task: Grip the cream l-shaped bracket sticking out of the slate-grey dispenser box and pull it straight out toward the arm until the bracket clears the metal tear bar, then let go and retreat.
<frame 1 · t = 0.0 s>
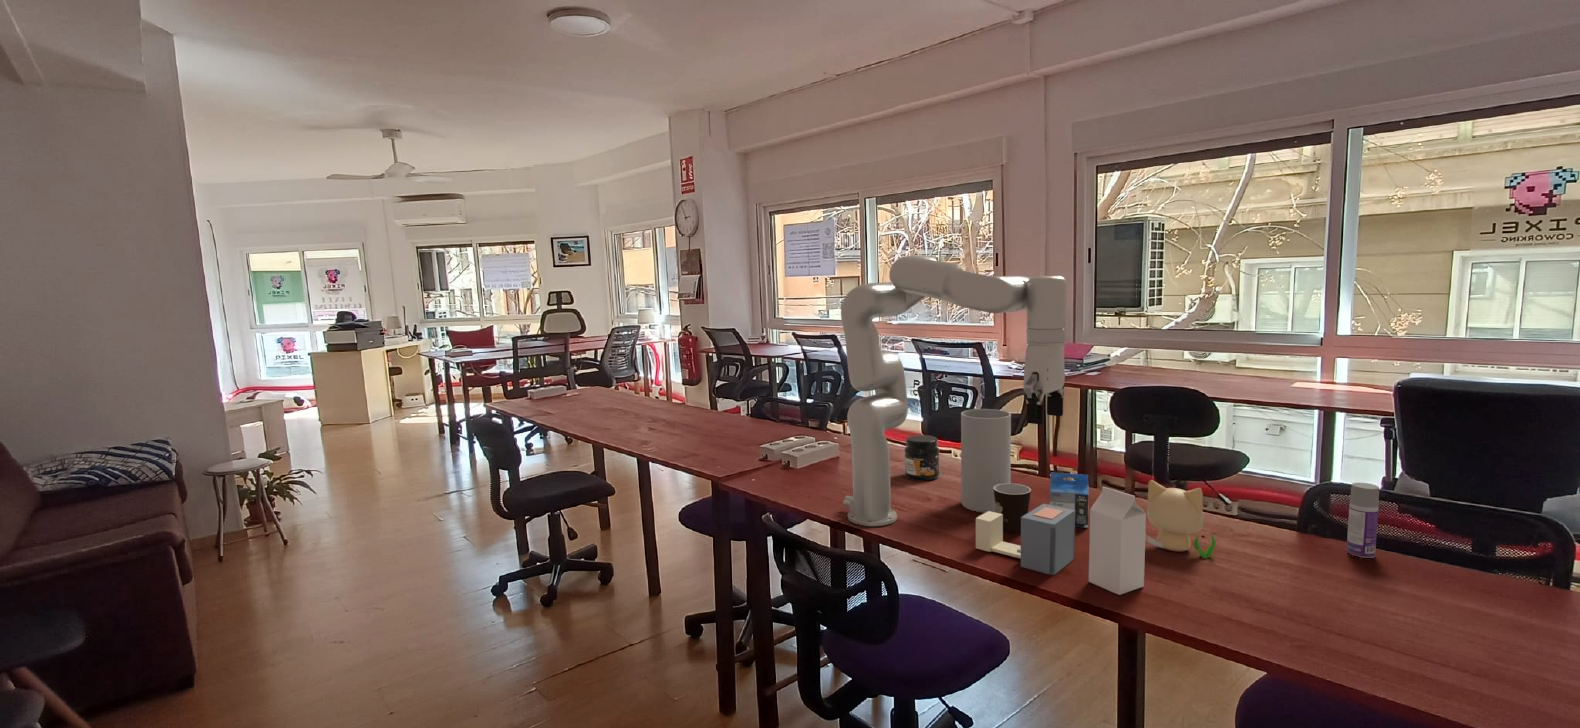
hand: (1045, 419, 144), 31 cm above the table, tool pointing down, fingers open, 9 cm apart
label tape box: (1068, 525, 170), on the table
cream l-shaped bracket: (1018, 538, 152), point 4 cm above the table, slide at 0.0 cm
dispenser: (1047, 562, 148), on the table
coffee mug: (1011, 527, 170), on the table
supplement container: (922, 477, 214), on the table
kitten: (1176, 550, 153), on the table
milk carton: (1115, 585, 137), on the table
cylinder vase: (985, 506, 185), on the table
container: (1360, 555, 147), on the table
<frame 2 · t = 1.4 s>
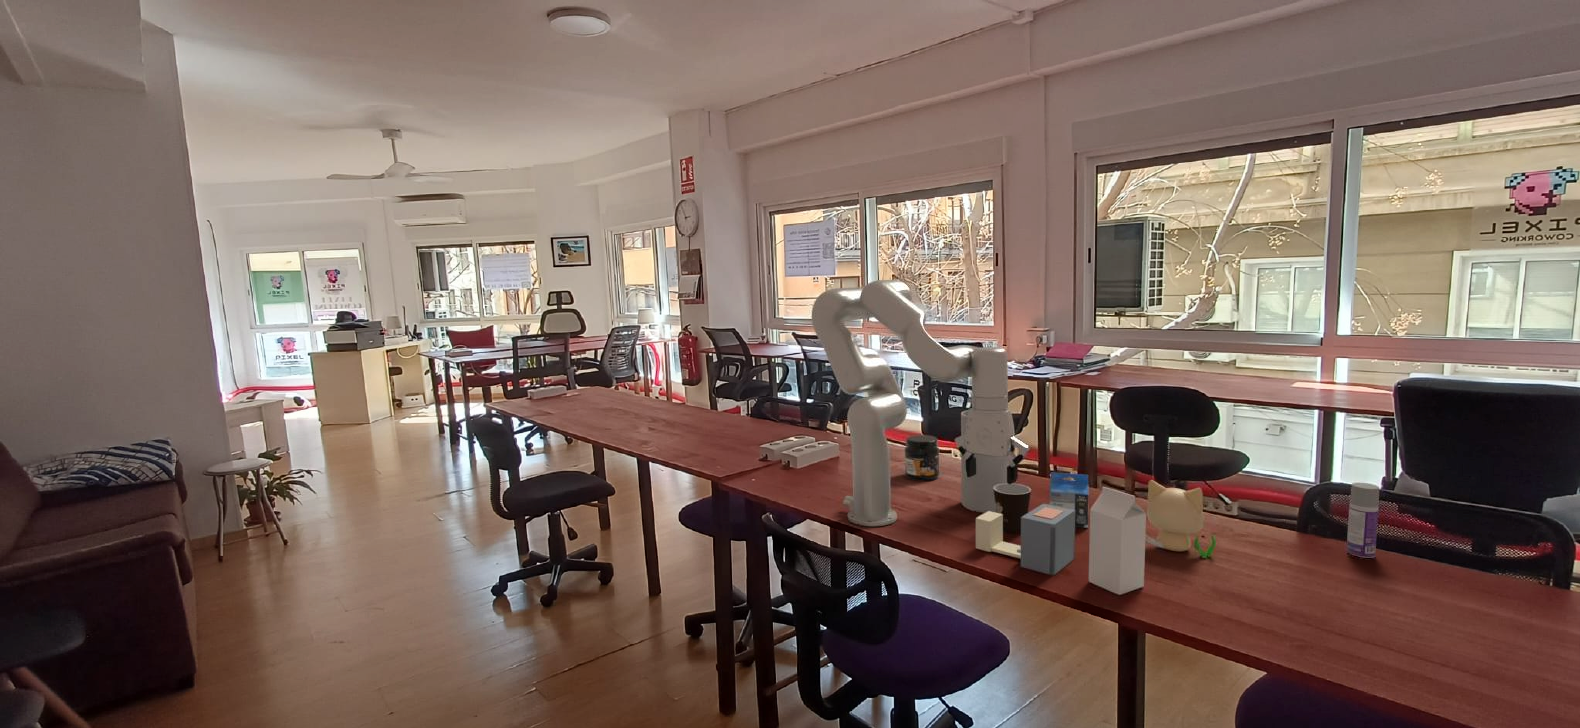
hand: (991, 479, 155), 16 cm above the table, tool pointing down, fingers open, 9 cm apart
nothing on the table moved.
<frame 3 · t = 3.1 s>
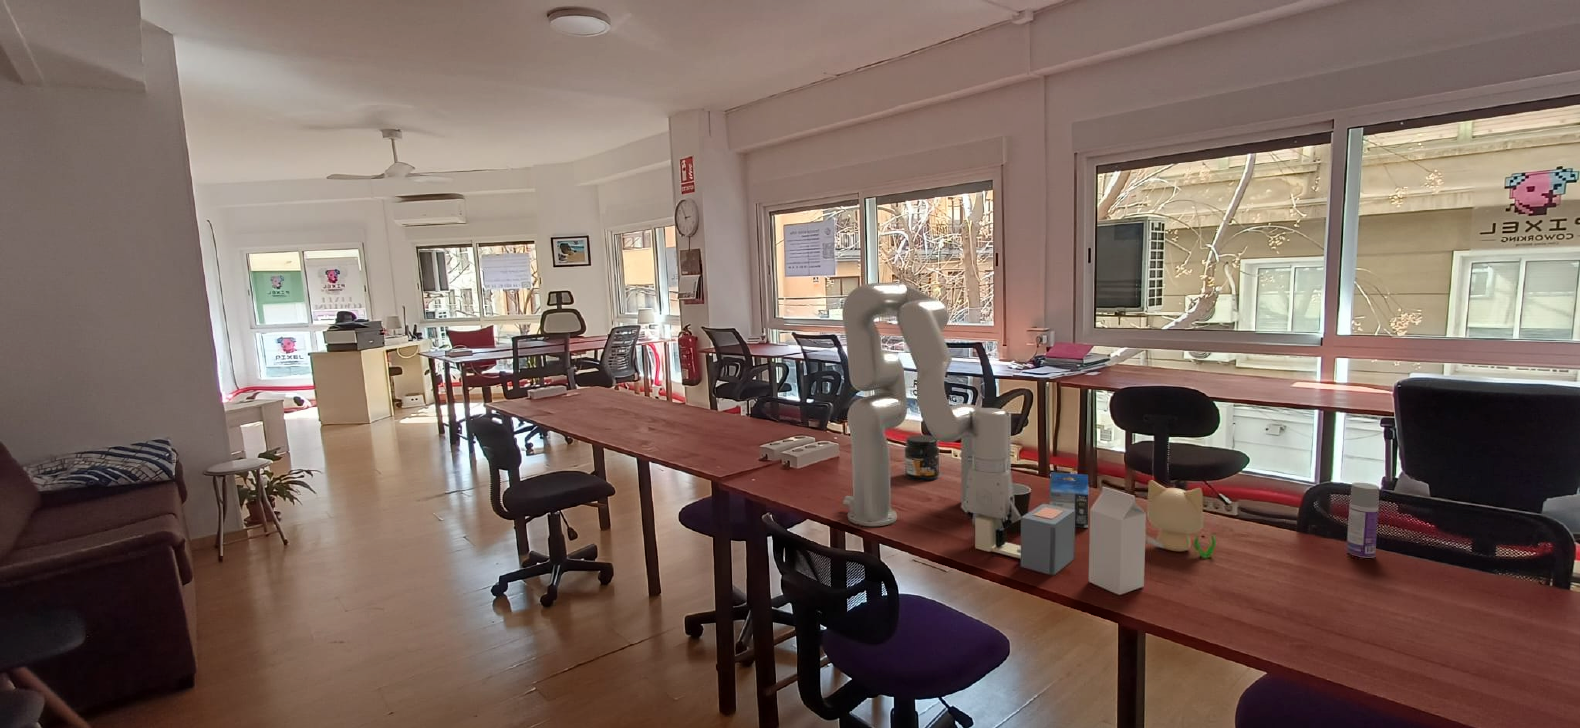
hand: (990, 542, 157), 1 cm above the table, tool pointing down, fingers closed on cream l-shaped bracket, 4 cm apart
cream l-shaped bracket: (1017, 538, 152), point 4 cm above the table, slide at 0.1 cm, touching gripper
everything else where it was.
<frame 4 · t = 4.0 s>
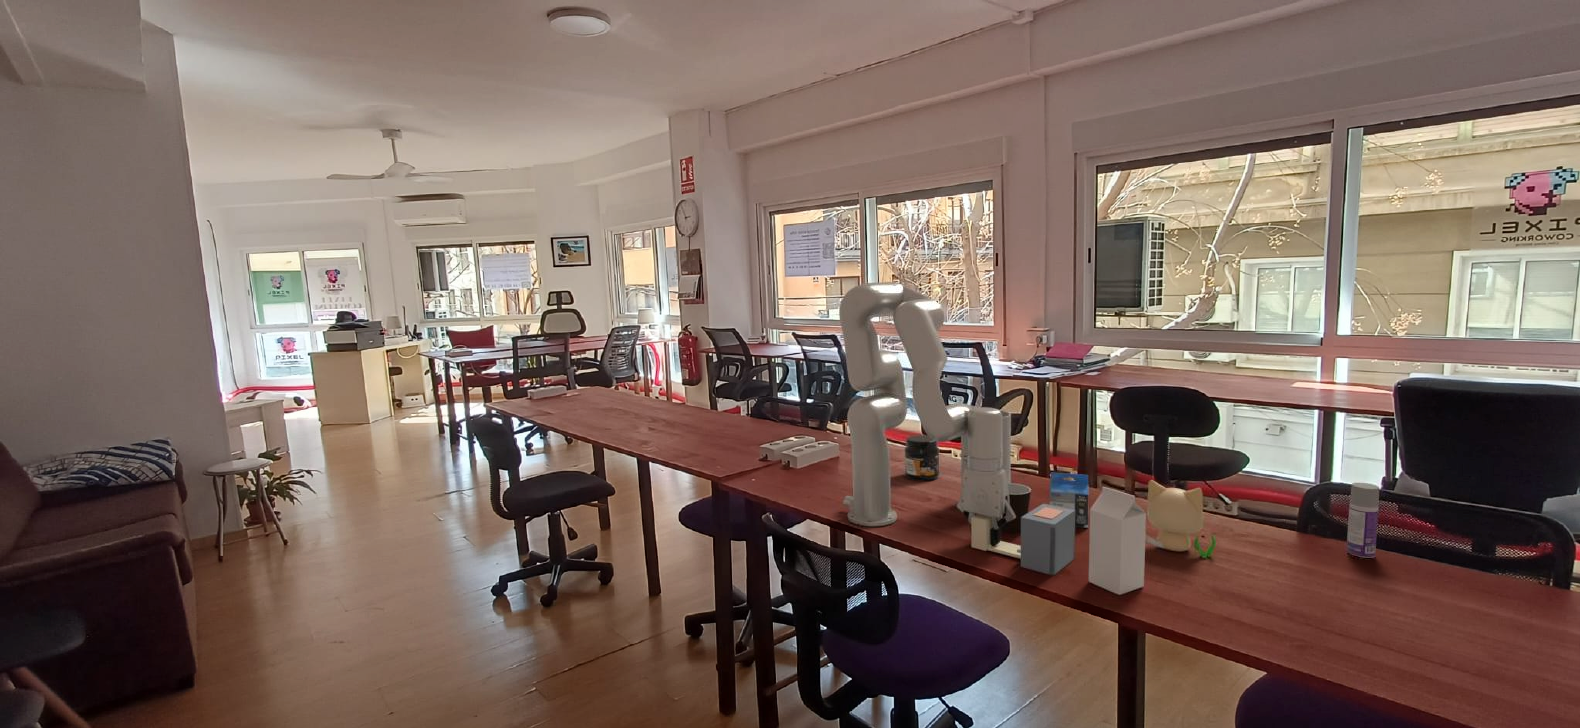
hand: (985, 541, 158), 1 cm above the table, tool pointing down, fingers closed on cream l-shaped bracket, 4 cm apart
cream l-shaped bracket: (1013, 537, 153), point 4 cm above the table, slide at 1.1 cm, touching gripper
everything else where it was.
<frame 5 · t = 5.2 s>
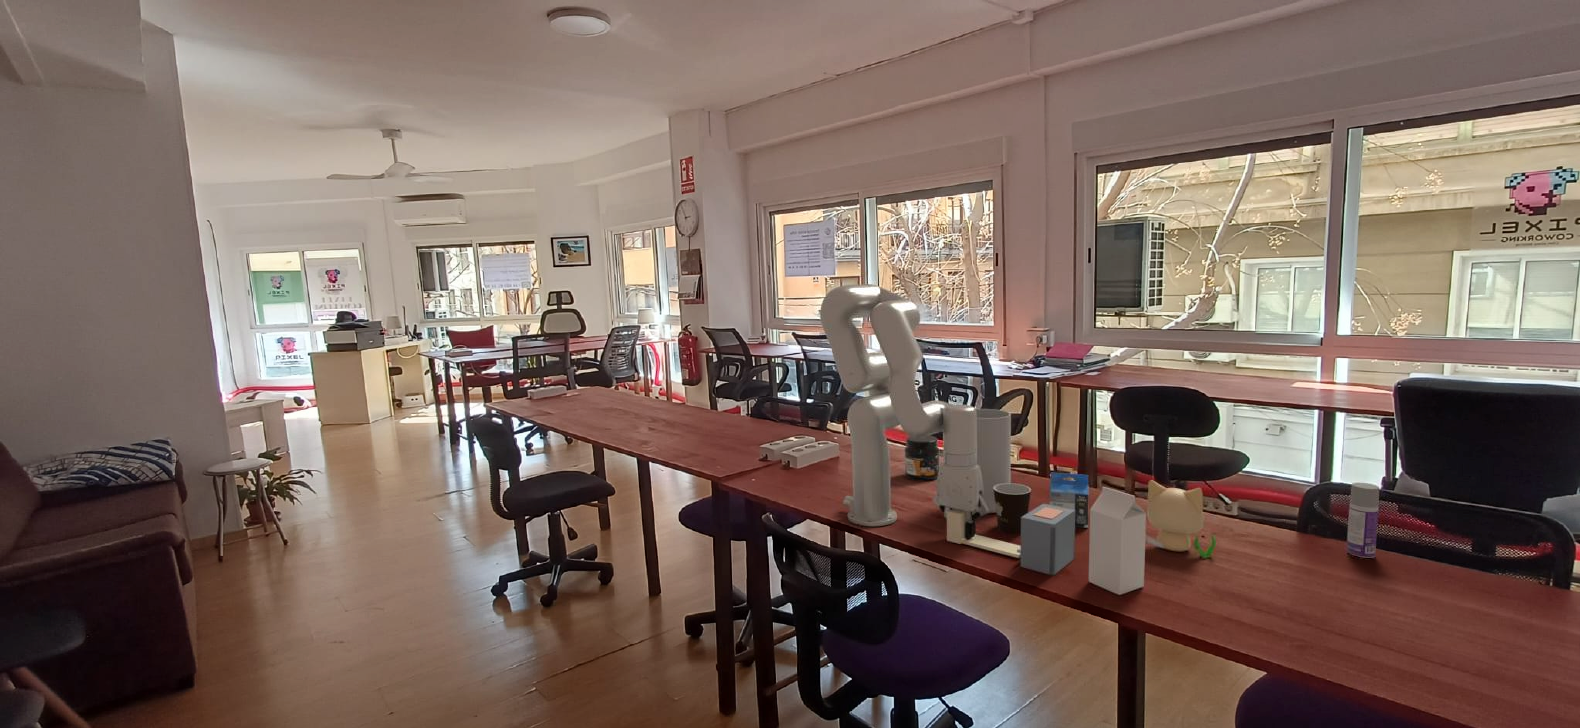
hand: (961, 534, 162), 1 cm above the table, tool pointing down, fingers closed on cream l-shaped bracket, 4 cm apart
cream l-shaped bracket: (987, 530, 157), point 4 cm above the table, slide at 7.3 cm, touching gripper
everything else where it was.
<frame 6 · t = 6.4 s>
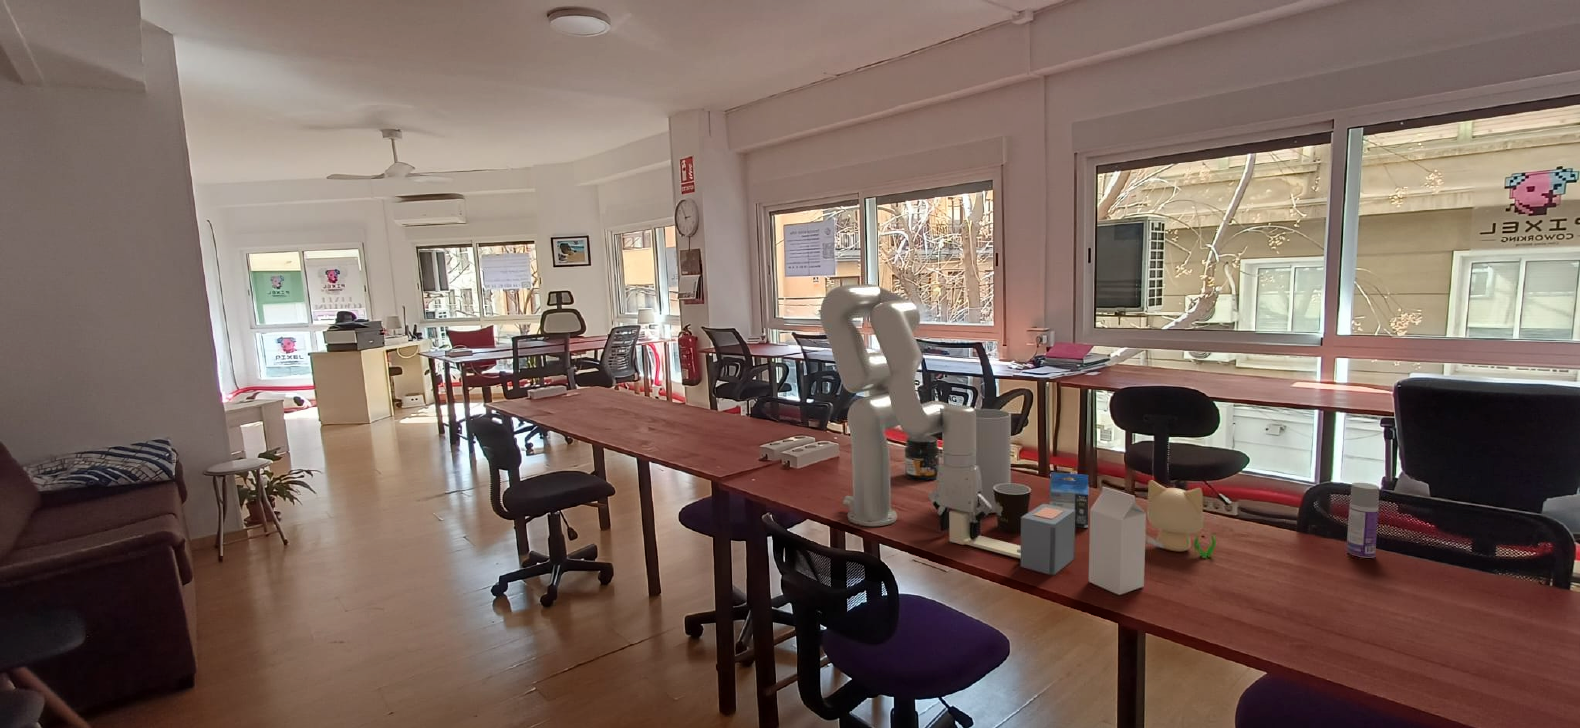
hand: (959, 533, 162), 2 cm above the table, tool pointing down, fingers open, 7 cm apart
cream l-shaped bracket: (990, 531, 157), point 4 cm above the table, slide at 6.7 cm
everything else where it was.
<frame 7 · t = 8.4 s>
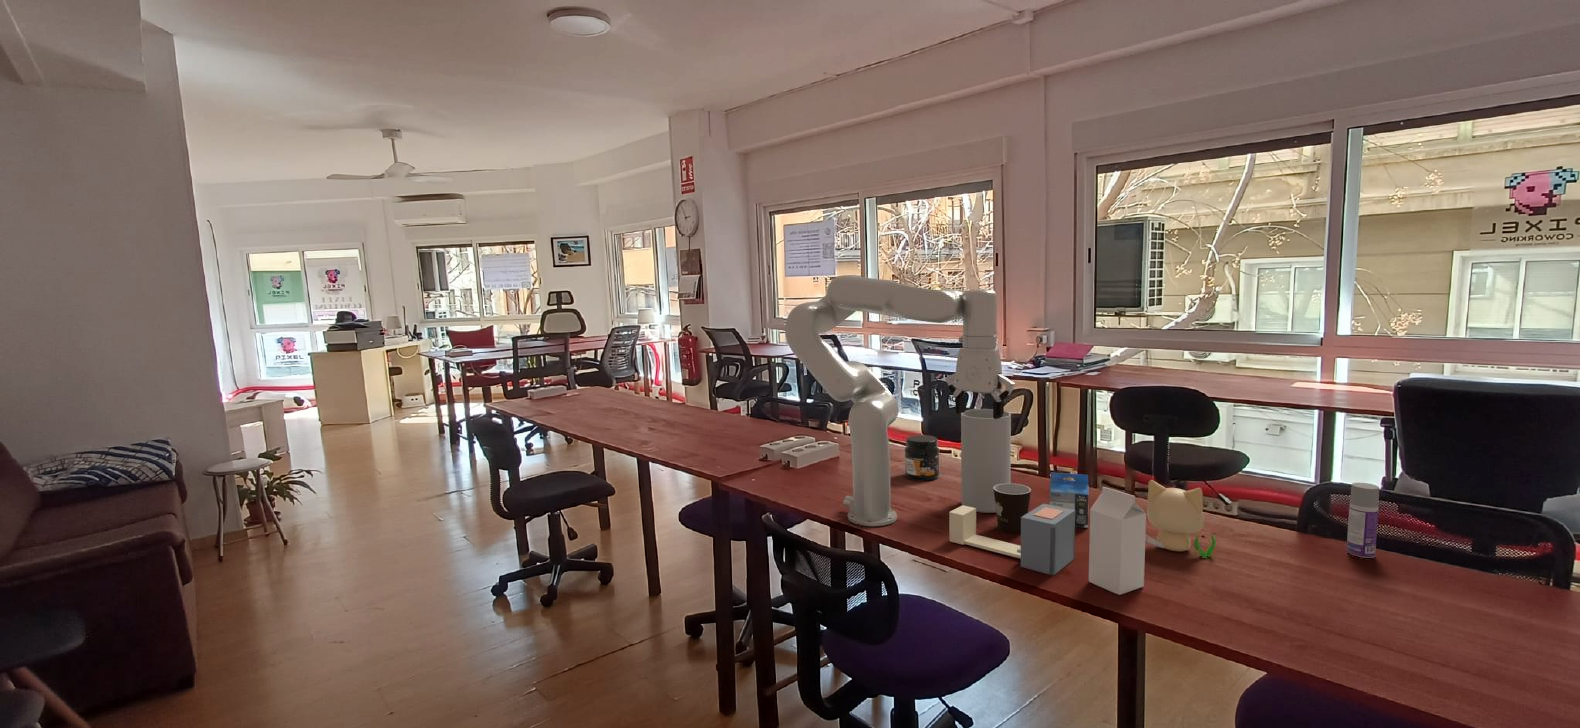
hand: (978, 415, 164), 28 cm above the table, tool pointing down, fingers open, 9 cm apart
nothing on the table moved.
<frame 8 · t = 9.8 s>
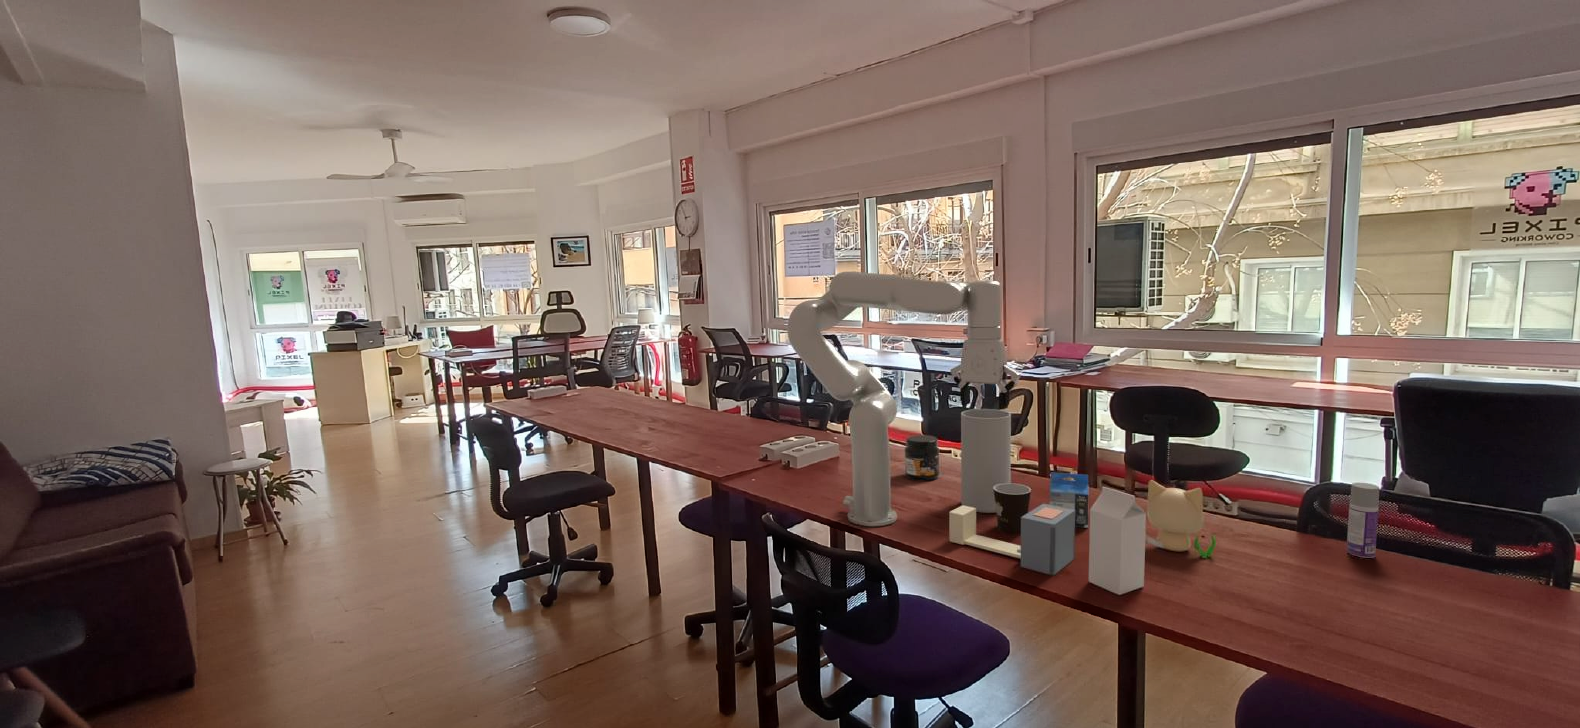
hand: (984, 406, 164), 30 cm above the table, tool pointing down, fingers open, 9 cm apart
nothing on the table moved.
at the end: cream l-shaped bracket slide at 6.7 cm; the gripper is holding nothing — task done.
